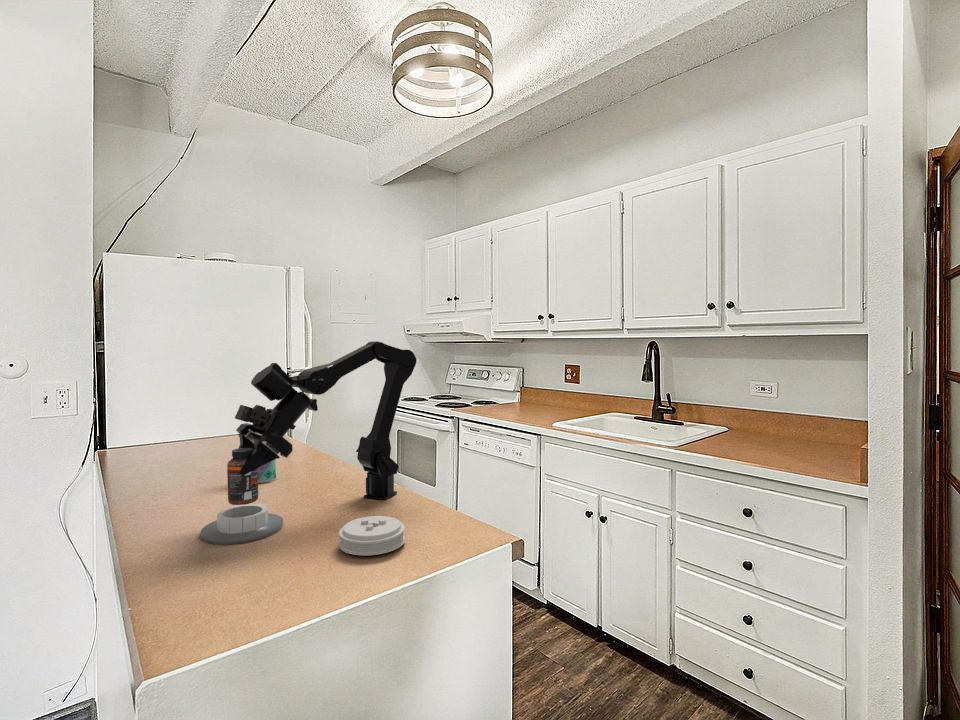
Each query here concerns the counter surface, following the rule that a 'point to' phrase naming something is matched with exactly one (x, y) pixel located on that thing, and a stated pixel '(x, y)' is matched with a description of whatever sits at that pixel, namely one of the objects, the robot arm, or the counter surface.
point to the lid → (371, 535)
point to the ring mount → (241, 525)
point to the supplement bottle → (241, 479)
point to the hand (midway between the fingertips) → (235, 471)
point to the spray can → (267, 472)
